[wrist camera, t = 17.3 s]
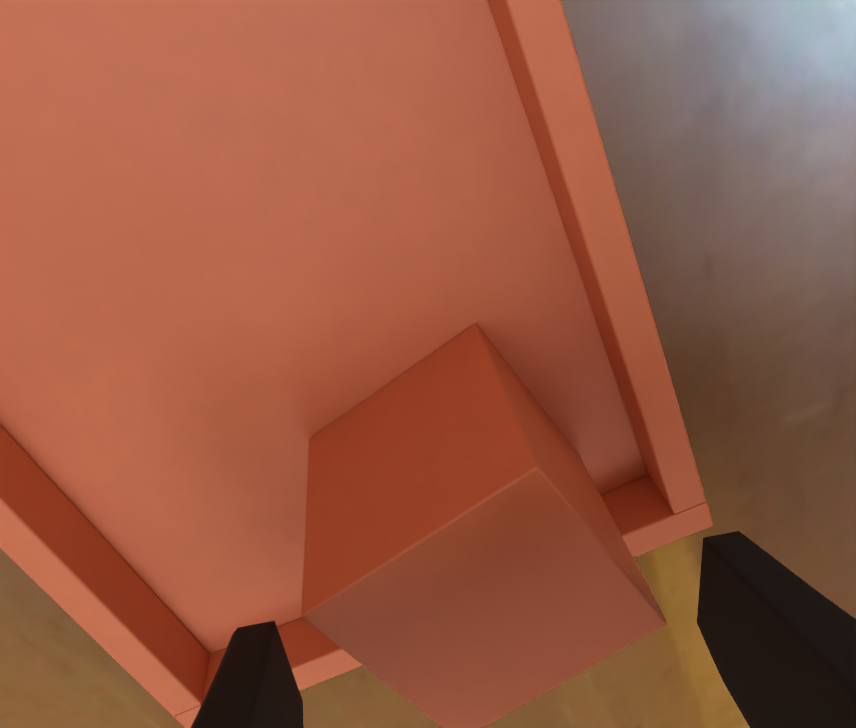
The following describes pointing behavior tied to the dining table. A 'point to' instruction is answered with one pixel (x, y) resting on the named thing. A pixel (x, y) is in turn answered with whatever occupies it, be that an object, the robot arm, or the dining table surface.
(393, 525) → the terracotta block
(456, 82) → the terracotta tray
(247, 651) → the robot arm
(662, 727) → the dining table surface
